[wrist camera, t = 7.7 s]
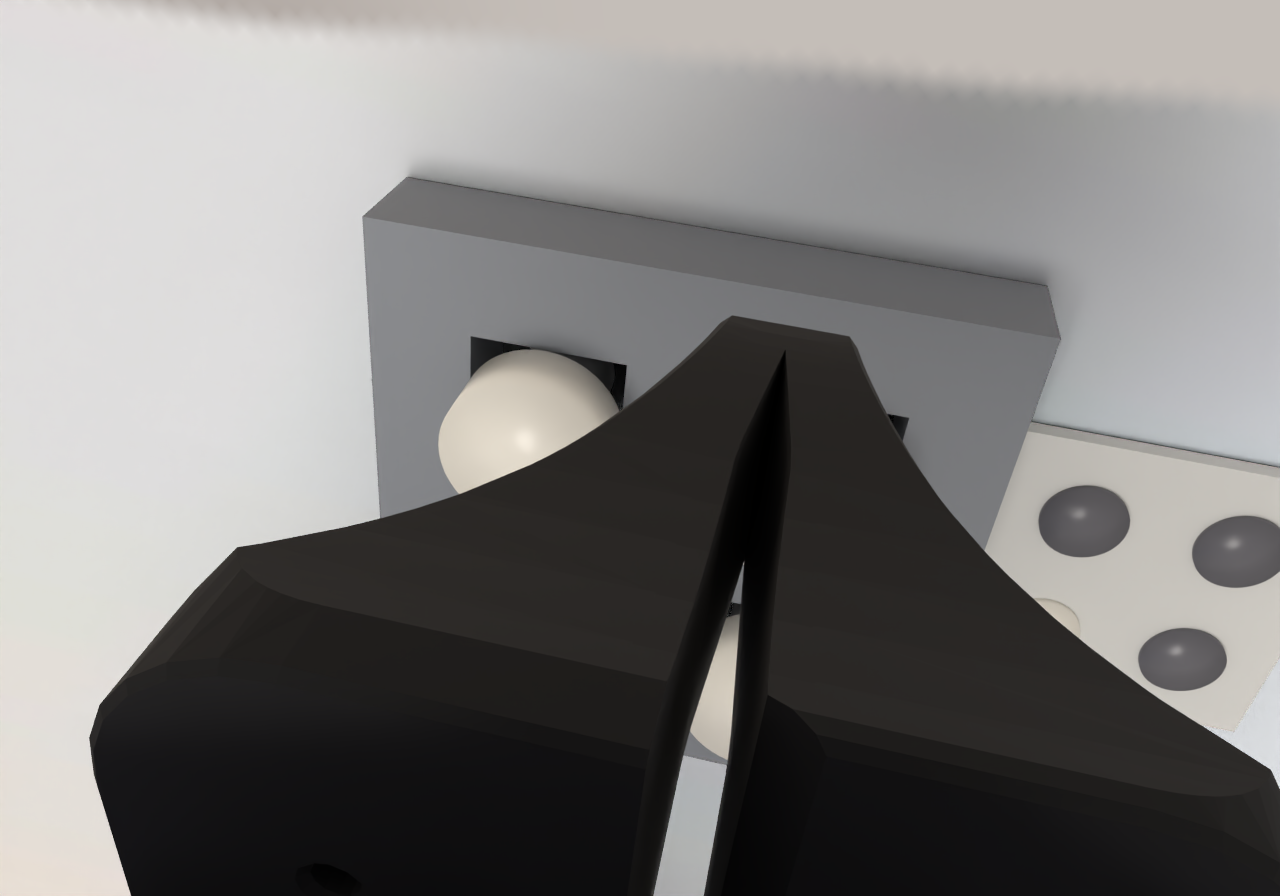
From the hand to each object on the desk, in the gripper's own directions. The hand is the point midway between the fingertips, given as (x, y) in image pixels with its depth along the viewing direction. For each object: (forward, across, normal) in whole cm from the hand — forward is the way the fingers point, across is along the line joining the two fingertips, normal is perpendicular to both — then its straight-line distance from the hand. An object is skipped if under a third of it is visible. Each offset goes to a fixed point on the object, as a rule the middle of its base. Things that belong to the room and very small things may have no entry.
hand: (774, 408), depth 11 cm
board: (+10, +2, +9) cm, 14 cm away
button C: (+10, +5, +6) cm, 13 cm away
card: (+10, -8, +9) cm, 16 cm away
